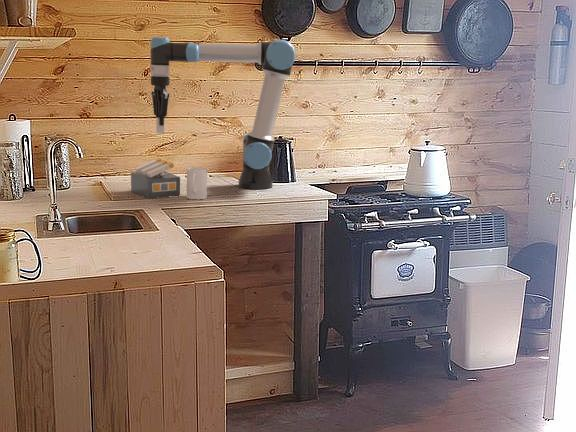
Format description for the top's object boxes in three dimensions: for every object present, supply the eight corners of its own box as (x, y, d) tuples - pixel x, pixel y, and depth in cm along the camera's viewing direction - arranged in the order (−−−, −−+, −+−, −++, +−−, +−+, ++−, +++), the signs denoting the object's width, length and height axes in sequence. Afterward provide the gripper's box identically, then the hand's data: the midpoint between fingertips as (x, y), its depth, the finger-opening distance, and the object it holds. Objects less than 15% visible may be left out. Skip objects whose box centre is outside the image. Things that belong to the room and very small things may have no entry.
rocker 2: (164, 163, 318) (163, 159, 317) (168, 164, 315) (166, 161, 314) (141, 173, 313) (140, 170, 312) (144, 175, 310) (143, 171, 310)
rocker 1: (159, 161, 322) (157, 157, 322) (162, 162, 320) (160, 158, 319) (136, 171, 318) (134, 168, 317) (139, 172, 315) (137, 169, 314)
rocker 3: (170, 165, 313) (169, 162, 312) (174, 166, 310) (172, 163, 309) (147, 176, 308) (146, 172, 307) (150, 177, 305) (149, 173, 305)
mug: (201, 202, 303) (201, 172, 300) (180, 200, 305) (180, 170, 302) (209, 196, 314) (210, 167, 312) (189, 195, 316) (190, 166, 313)
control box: (162, 188, 327) (162, 165, 325) (180, 196, 312) (180, 172, 310) (131, 191, 320) (130, 167, 318) (148, 199, 305) (148, 174, 303)
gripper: (145, 74, 317) (145, 131, 322) (158, 76, 306) (158, 135, 311) (162, 74, 321) (162, 131, 326) (175, 76, 310) (175, 134, 315)
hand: (160, 133), depth 318 cm, fingers closed
